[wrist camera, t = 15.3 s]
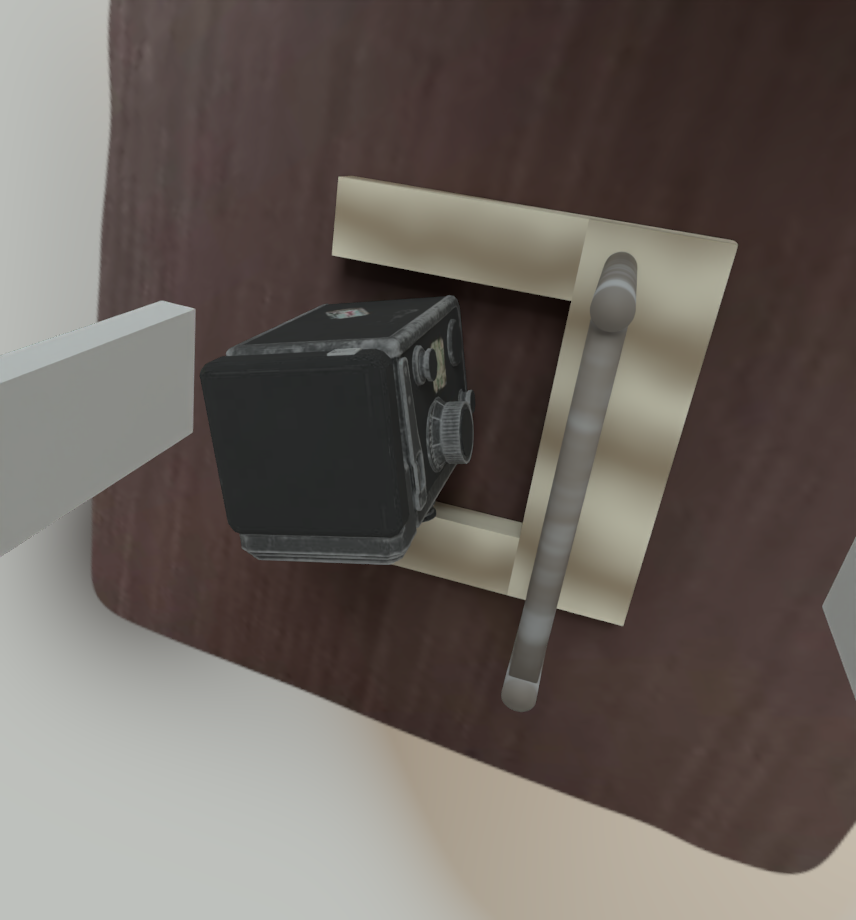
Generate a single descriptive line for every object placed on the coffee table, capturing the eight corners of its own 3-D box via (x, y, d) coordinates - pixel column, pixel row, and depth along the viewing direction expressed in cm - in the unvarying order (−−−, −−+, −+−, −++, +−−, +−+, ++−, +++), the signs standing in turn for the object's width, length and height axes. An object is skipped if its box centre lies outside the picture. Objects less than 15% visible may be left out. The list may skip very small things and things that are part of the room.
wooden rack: (351, 175, 40) (233, 183, 29) (733, 240, 37) (776, 279, 25) (320, 527, 49) (220, 642, 38) (623, 607, 46) (617, 762, 34)
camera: (339, 467, 47) (218, 591, 34) (312, 300, 43) (165, 365, 30) (500, 467, 44) (439, 602, 31) (486, 288, 41) (409, 353, 27)
